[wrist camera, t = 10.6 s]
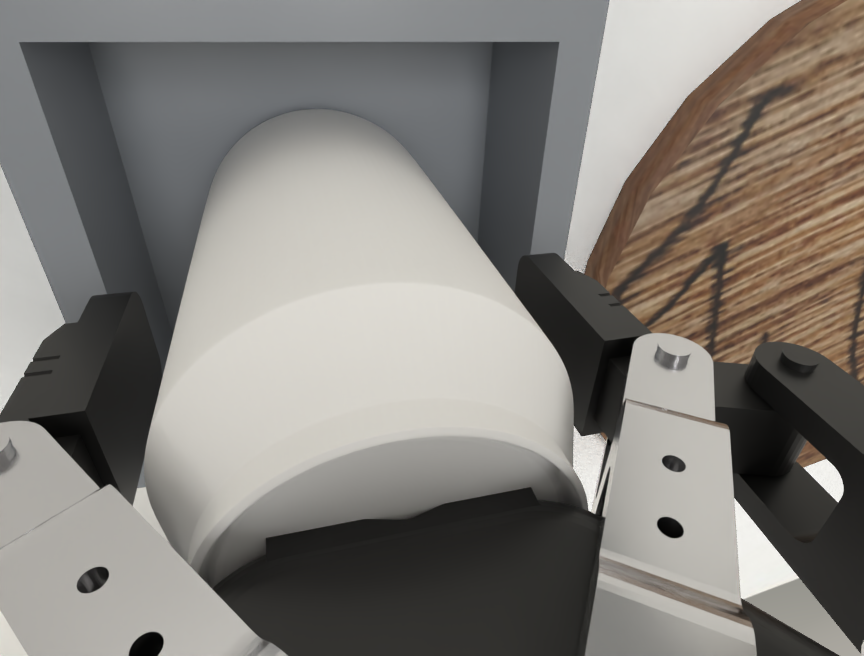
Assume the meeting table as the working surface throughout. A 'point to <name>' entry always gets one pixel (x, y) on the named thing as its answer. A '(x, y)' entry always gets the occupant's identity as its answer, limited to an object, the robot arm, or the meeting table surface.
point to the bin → (272, 96)
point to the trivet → (755, 201)
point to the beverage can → (343, 354)
